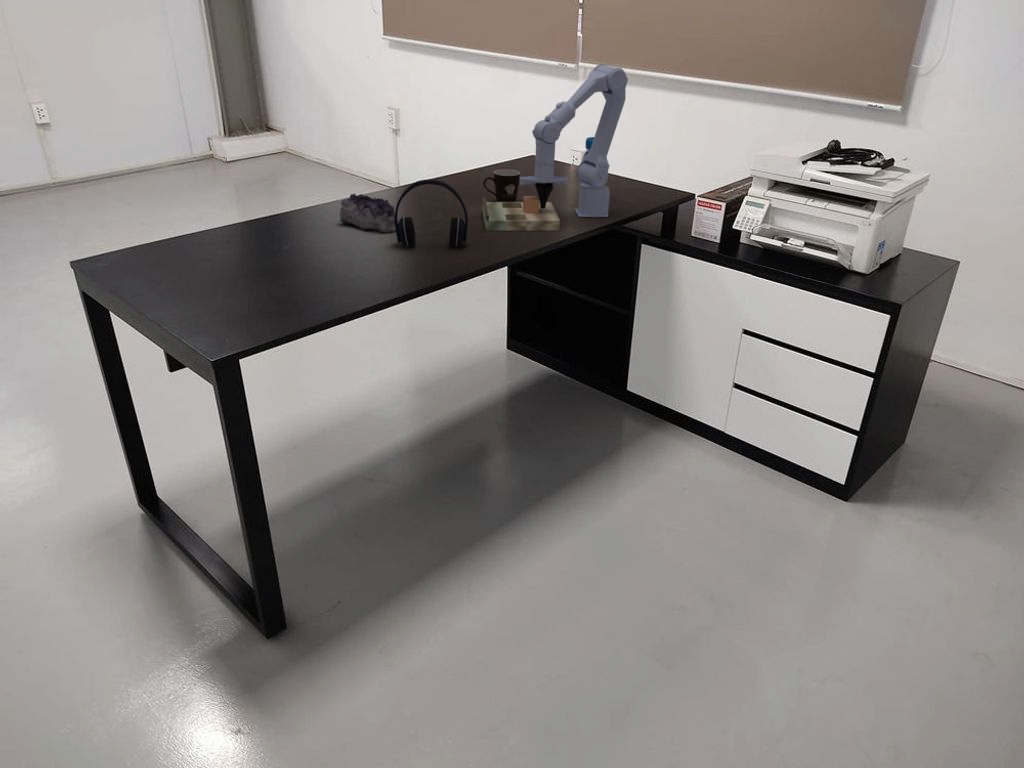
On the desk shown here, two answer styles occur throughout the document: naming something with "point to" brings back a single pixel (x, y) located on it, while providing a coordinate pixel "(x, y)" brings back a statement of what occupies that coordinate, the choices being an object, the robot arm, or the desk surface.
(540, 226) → the trap board
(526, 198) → the block
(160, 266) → the desk surface
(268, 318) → the desk surface
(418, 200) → the desk surface
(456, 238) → the headphones
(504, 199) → the coffee mug
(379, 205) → the geode
